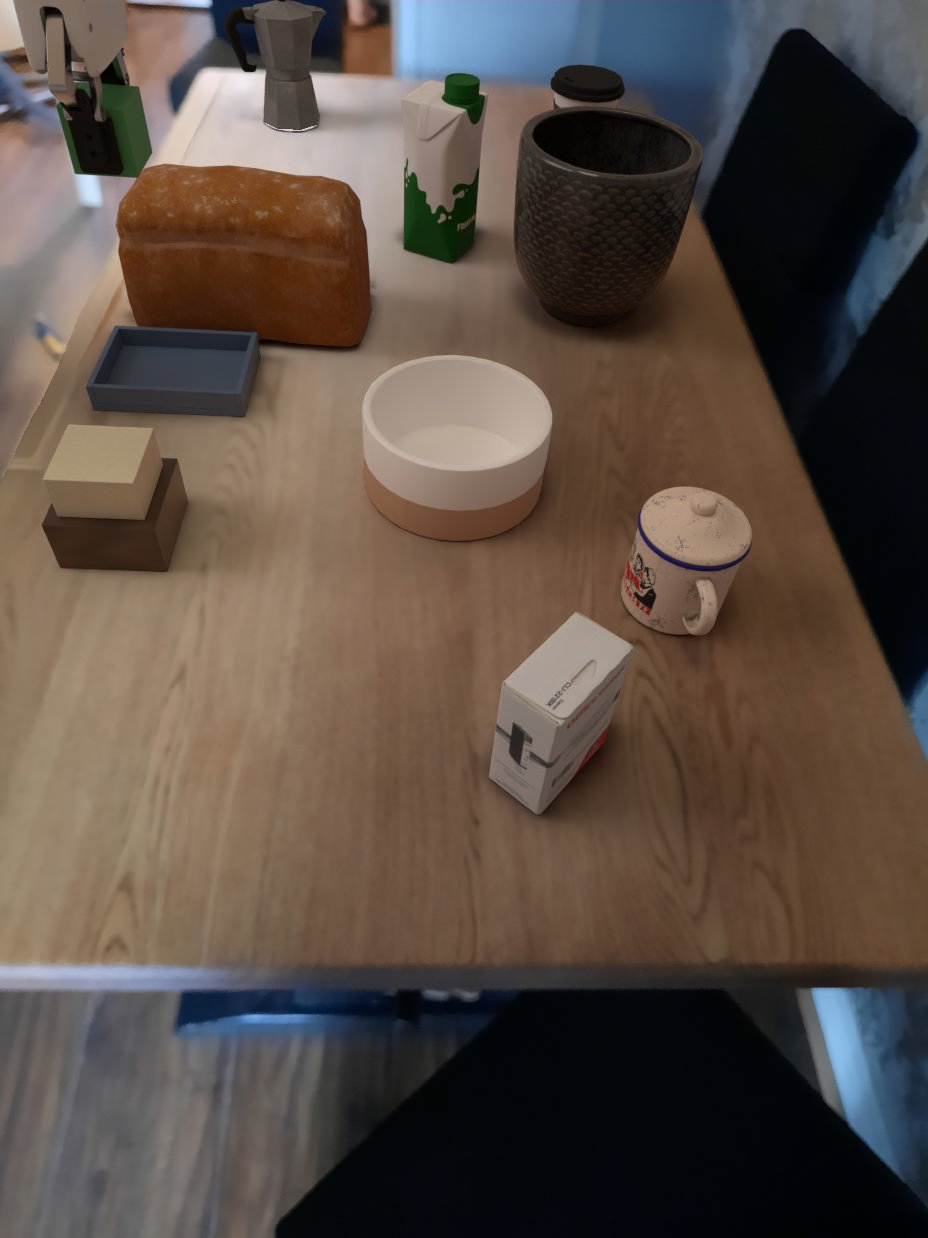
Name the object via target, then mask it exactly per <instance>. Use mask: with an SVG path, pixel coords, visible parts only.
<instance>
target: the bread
mask: <svg viewBox="0 0 928 1238" xmlns="http://www.w3.org/2000/svg"><path fill="white" fill-rule="evenodd" d="M362 213H363V212H362V205H361V199H360V198H359V196H358V194H357V193H356V192H355V191H354V190H353V188H352V187H351V186H350V185H349V183H347V182H344V181H342V180H339V179H335V178H330V177H327V176H322V175H305V174H304V175H303V174H302V175H301V174H292V173H285V172H281V171H275V170H268V169H263V168H257V167H249V166H240V165H239V166H238V165H230V164H229V165H227V164H226V165H210V166H209V165H208V166H205V165H204V166H194V165H185V164H184V165H183V164H173V163H161V164H156V165H152V166H149V167H144V168H143V170H142V172H141V174H140V175H139V177H138V178H135V180H134V182H133V183H132V185H131V186H130V187H129V189H128V190H127V192H126V193H125V195H124V196H123V197H122V198H121V200H120V202H119V203H118V210H117V215H116V222H115V228H116V231H117V236H118V238H119V241H118V242H119V243H118V249H117V252H118V258H119V263H120V268H121V272H122V276H123V281H124V285H125V291H126V295H127V299H128V303H129V305H130V309H131V312H132V314H133V317H134V321H135V324H136V326H137V327H157V328H177V329H197V330H216V331H236V332H256V333H258V340H267V341H269V340H271V341H276V342H284V343H289V344H299V345H310V346H311V345H312V346H326V347H327V346H328V347H352V346H355V345H358V344H360V343H361V341H362V338H363V337H364V334H365V332H366V331H367V327H368V324H369V319H370V317H371V313H372V303H371V302H372V301H371V273H370V260H369V258H370V257H369V243H368V232H367V229H366V225H365V222H364V219H363V214H362Z"/></svg>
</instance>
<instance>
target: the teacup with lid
mask: <svg viewBox="0 0 928 1238" xmlns="http://www.w3.org/2000/svg"><path fill="white" fill-rule="evenodd" d="M634 536H635V537H634V539H633V543H632V545H631V549H630V553H629V556H628V559H627V562H626V567H625V570H624V573H623V576H622V580H621V583H620V595H621V599H622V602H623V604H624V606H625V608H626V610H628V612H629V613H630V614H631V615H632V616H633V618H635V619H636V620H637V621H638V622H640V623H641V624H643V625H644V626H646V627H648V628H649V629H651V630H653V631H656V632H660V633H663V634H666V635H667V634H668V635H678V636H681V635H683V636H684V635H693V636H704V635H705V636H706V635H707V634H709V632H711V630H712V629H713V627H714V625H715V623H716V621H717V617H718V614H719V612H720V610H721V608H722V606H723V604H724V601H725V599H726V597H727V594H728V592H729V590H730V588H731V586H732V584H733V581H734V579H735V576H736V574H737V572H738V570H739V568H740V566H741V563H742V562H743V560H744V559H746V557H747V556H748V554H749V553H750V551H751V548H752V545H753V531H752V526H751V524H750V521H749V519H748V517H747V516H746V513H744V512H743V510H742V509H741V508H740V507H739V506H737V504H736V503H734V502H733V501H732V500H731V499H729V498H727V497H725V496H723V495H722V494H720V493H717V492H715V491H712V490H710V489H706V488H702V487H696V486H674V487H669V488H666V489H663V490H660V491H658V492H656V493H655V494H654V495H652V496H650V497H649V498H648V499H647V500H646V501H645V503H643V505H642V506H641V508H640V510H639V513H638V516H637V530H636V532H635V535H634Z"/></svg>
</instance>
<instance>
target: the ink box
mask: <svg viewBox="0 0 928 1238" xmlns="http://www.w3.org/2000/svg"><path fill="white" fill-rule="evenodd" d="M633 652H634V646H633V644H631V643H630V642H628V641H626V640H625V639H623V638H621V637H619V636H618V635H617V634H615V633H613V632H611V630H608V629H607V628H605V627H604V626H602V625H600V624H599V623H597V622H595V621H594V620H593V619H591V618H590V617H588V616H586V615H584V614H582V613H581V612H579V611H575V612H574V613H573V614H572V615H571V616H570V617H568V619H566V621H565V622H564V623H563V624H562V625H561V626H559V627H558V629H556V630H555V631H554V632H553V633H552V634H551V635H550V636H549V637H548V638H546V640H545V641H544V642H543V643H542V644H541V645H540V646H539V647H538V648H536V650H535V651H534V652H532V654H530V655H529V656H528V657H527V658H526V659H525V660H524V661H523V662H522V663H521V664H520V665H519V666H518V667H517V668H516V669H515V670H514V671H513V672H512V673H511V674H510V675H509V676H507V678H505V680H503V681H502V683H501V688H500V689H501V690H500V694H499V695H500V696H499V703H498V709H497V716H496V723H495V731H494V737H493V738H494V739H493V745H492V752H491V760H490V767H489V773H488V778H489V779H490V780H491V781H493V782H494V783H495V784H497V786H499V787H500V788H502V789H503V790H505V791H506V792H507V793H508V794H510V795H511V796H512V797H513V798H514V799H516V800H517V801H518V802H520V804H522V805H524V806H525V807H526V808H527V809H529V810H530V811H531V812H533V813H534V815H538V816H539V815H541V814H543V812H544V811H545V810H546V809H547V808H548V806H550V804H552V802H553V801H554V800H555V799H556V798H557V796H558V795H559V794H560V793H561V792H562V791H563V790H564V788H566V786H568V784H569V783H570V782H571V780H572V779H573V778H574V777H575V776H576V775H577V774H578V773H579V771H580V770H581V769H582V768H583V767H584V766H585V765H586V764H587V762H588V761H589V760H590V759H591V758H592V757H593V755H595V753H596V752H597V751H598V749H600V748H601V747H602V745H603V744H604V743H605V739H606V737H607V733H608V731H609V727H610V724H611V721H612V718H613V714H614V712H615V708H616V706H617V703H618V698H619V696H620V693H621V689H622V686H623V683H624V680H625V677H626V675H627V671H628V668H629V665H630V661H631V657H632V656H633Z"/></svg>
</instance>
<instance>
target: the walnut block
mask: <svg viewBox="0 0 928 1238" xmlns="http://www.w3.org/2000/svg"><path fill="white" fill-rule="evenodd" d="M161 458H162V462H163V467H162V470H161V473H160V476H159V479H158V482H157V485H156V488H155V491H154V494H153V497H152V499H151V502H150V505H149V508H148V511H147V514H146V517H145V520H131V519H105V518H80V517H58V516H57V514H56V511H55V509H54V506H53V504H52V502H51V503H50V505H49V507H48V509H47V512H46V514H45V516H44V518H43V520H42V523H41V527H42V530H43V533H44V535H45V536H46V539H47V541H48V543H49V546H50V548H51V551H52V553H53V555H54V558H55V559H56V561H57V565H58V566H59V568H60V569H89V570H90V569H91V570H115V571H116V570H117V571H118V570H119V571H144V572H145V571H146V572H168V569H169V565H170V563H171V559H172V557H173V556H172V555H173V553H174V549H175V545H176V543H177V539H178V535H179V532H180V529H181V526H182V522H183V519H184V516H185V512H186V509H187V506H188V503H189V498H188V495H187V490H186V487H185V483H184V480H183V479H184V478H183V475H182V471H181V467H180V461H179V459H178V458H175V457H174V458H172V457H161Z"/></svg>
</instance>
